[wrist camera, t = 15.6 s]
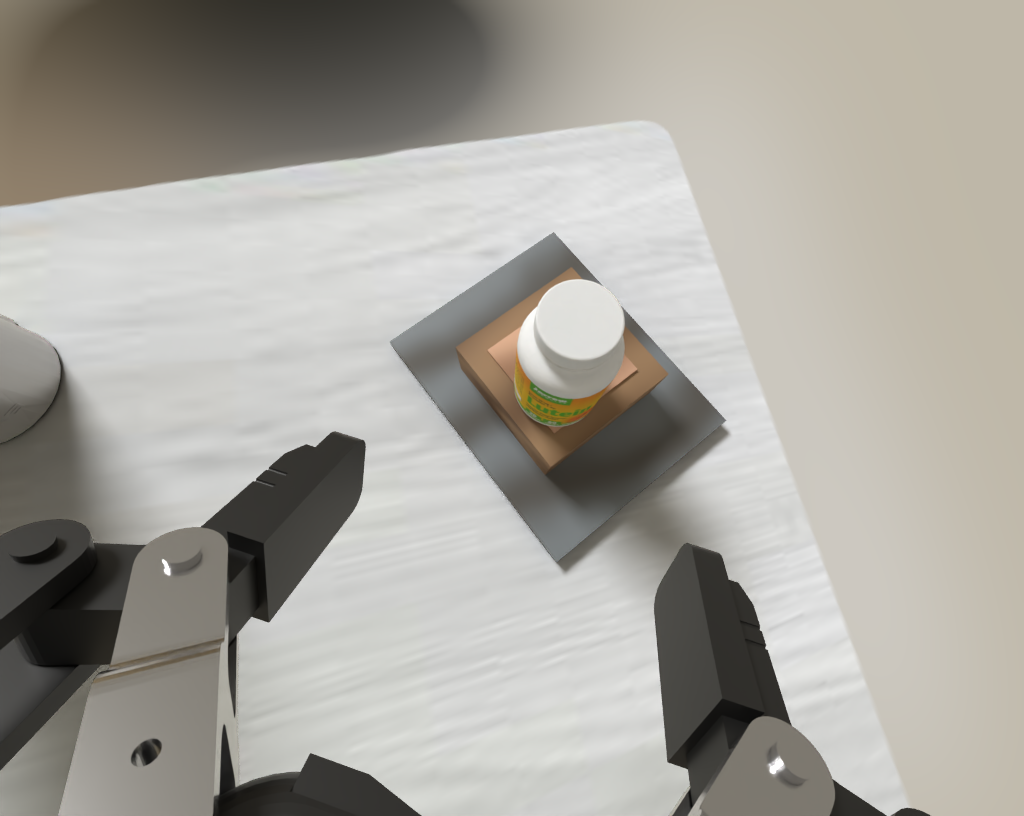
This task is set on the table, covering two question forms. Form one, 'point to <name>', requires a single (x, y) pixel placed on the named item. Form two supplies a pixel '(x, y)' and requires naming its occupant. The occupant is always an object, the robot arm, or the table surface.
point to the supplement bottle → (568, 352)
